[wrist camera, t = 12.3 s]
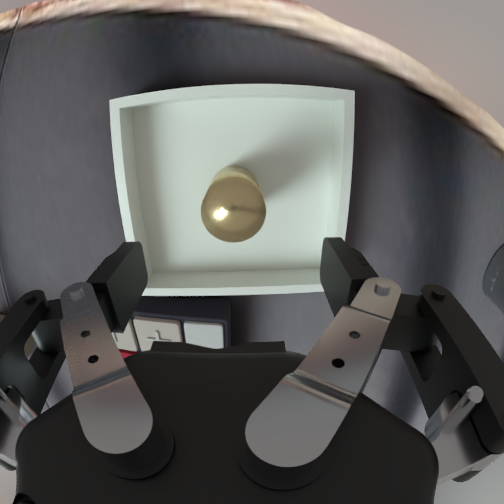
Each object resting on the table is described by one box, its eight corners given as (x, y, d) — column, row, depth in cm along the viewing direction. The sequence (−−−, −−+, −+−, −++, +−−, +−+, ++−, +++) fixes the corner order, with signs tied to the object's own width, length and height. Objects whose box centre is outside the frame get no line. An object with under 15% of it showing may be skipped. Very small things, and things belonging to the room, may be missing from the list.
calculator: (82, 309, 25) (227, 325, 25) (100, 286, 29) (231, 297, 29) (110, 377, 30) (229, 394, 30) (121, 354, 33) (231, 367, 33)
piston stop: (259, 165, 22) (266, 179, 16) (259, 212, 24) (265, 241, 18) (208, 166, 22) (198, 181, 16) (210, 214, 23) (203, 243, 18)
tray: (339, 93, 20) (354, 90, 17) (327, 270, 27) (337, 290, 24) (126, 101, 19) (109, 100, 16) (148, 275, 27) (138, 295, 24)
